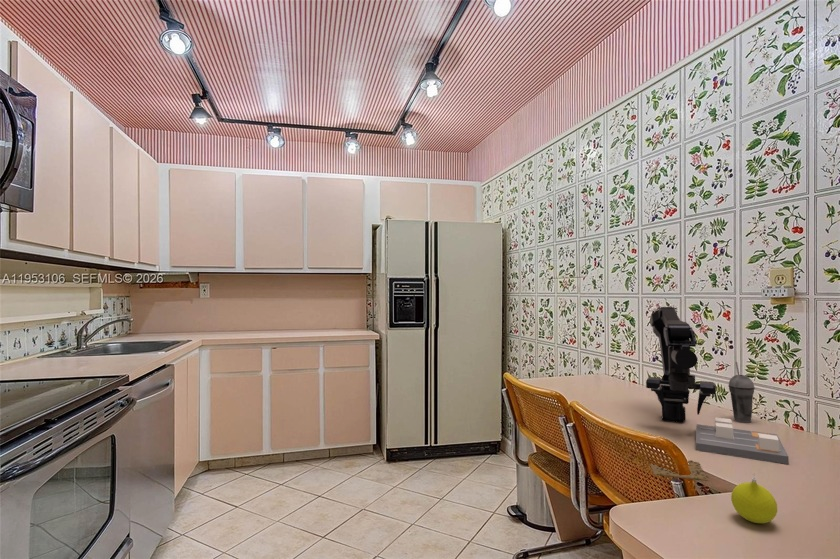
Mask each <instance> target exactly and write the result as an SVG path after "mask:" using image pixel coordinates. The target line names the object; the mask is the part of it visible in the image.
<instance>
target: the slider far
mask: <svg viewBox="0 0 840 559" xmlns="http://www.w3.org/2000/svg"><path fill="white" fill-rule="evenodd" d="M714 419H715V420H714V421H715V423H714V424H715V426H716V423H724V424H732V425H733V422H732V418H731V419H730V418H723V417H714Z"/></svg>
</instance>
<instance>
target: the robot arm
mask: <svg viewBox="0 0 840 559" xmlns="http://www.w3.org/2000/svg"><path fill="white" fill-rule="evenodd" d="M649 322H650V323H649V324H650V327H652V331H653V332H652V333H654V335H655V336H656V337H657V338H658V340H659V343H658V344H659V349H660V356H661V364H662V371H663V375H662V376H661V377H655V376H649V377H647V379H646V380H645V388H646V389H650V391H651V392H654V393H655V394H656V396H657V400H658V402H659V403H660V405H661V415H662V416H661V421H662V422H671V423H678V424H679V423H680V424H684V423H685V421H686V417H687V416H686V415H687V414H686V406H684V404H685V405H688V404H689V400H690V399H689V398H690V390H695V391H696V390H697V391H698V390H699V391H698V398H697V399H698V400H697V408H696V413H697V415H698V416H699V415H700V412H701V410H702V407H703V404H704V401H705V400H706V398H707V397H711V396H712V395H716V394H717V393H716V390H717V389H716V388H717V387H716V384H715V382H713V381H706V380H705V381H704V380H700V381H699V383H696V375H694V374H691V368H694V367H695V366H696V365H697V363H698V357H697V354H696V352H694V351H693V350H691V347H695V348H696V345H697V344H698V343H697V342H698V340H697V336H696V332H695V331H694V329H693V327H691V326H690V324H689V323H688V322H687V321H683V320H681V319H680V318H679V316H678V313H677V312H676V308H675V307H673V306H661V307H658V309H657V310H655V311H654V312H652V313H651V315H650V319H649Z"/></svg>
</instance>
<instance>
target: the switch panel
mask: <svg viewBox="0 0 840 559" xmlns="http://www.w3.org/2000/svg"><path fill="white" fill-rule="evenodd" d="M695 428H696V429H695V450H696V451H699V450H700V451H701V452H705V451H706V452H705V453H712V454H720V455H725V456H733V457H739V458H745V459H752V460H758V461H765V462H770V463H771V462H772V463H778V464H782V465H783V464H784V465H790V461H789V460H790V458H789V455H788V453H787V451H786V449H785V447H784V445H783V443H782V441H781V439H780V437H779V435H778V434H777V433H768V432H761V431H754V430H746V429H739V428H738V429H736V428H733V439H731V438H723V437H716V425H715V426H713V425H709V424H708V425H707V424H699V423H696V425H695ZM758 433H759V434H767V435H775V436H777V437H778V439H779V452H778V451H771V450H764V449H760V447H759V445H758Z"/></svg>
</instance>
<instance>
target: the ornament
mask: <svg viewBox="0 0 840 559" xmlns="http://www.w3.org/2000/svg"><path fill="white" fill-rule="evenodd" d="M753 475H754V476H755V475H756V474H755V473H753ZM730 499H731V500H730V501H731V504H732V506H733V508H734V510H735V511H736V512H737V514H738V515H739V516H741V517H742V518H744V519H745V521H746V520H747V521H749V522H751V523H754V524H766V523H767V524H768V523H769V522H771V521H773V519H775V518H776V516H777V513H778V504H777V501H776V498H775V497H774V496H773V494H772V492H770V491H769V490H768V489H767V488H765V487H764V486H762V485H760V484H758V483H757V479H756V477H752V478H751V482H741V483H739V484H737V485H736V486H735V487H734V488H733V490H732V492H731V497H730Z"/></svg>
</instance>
